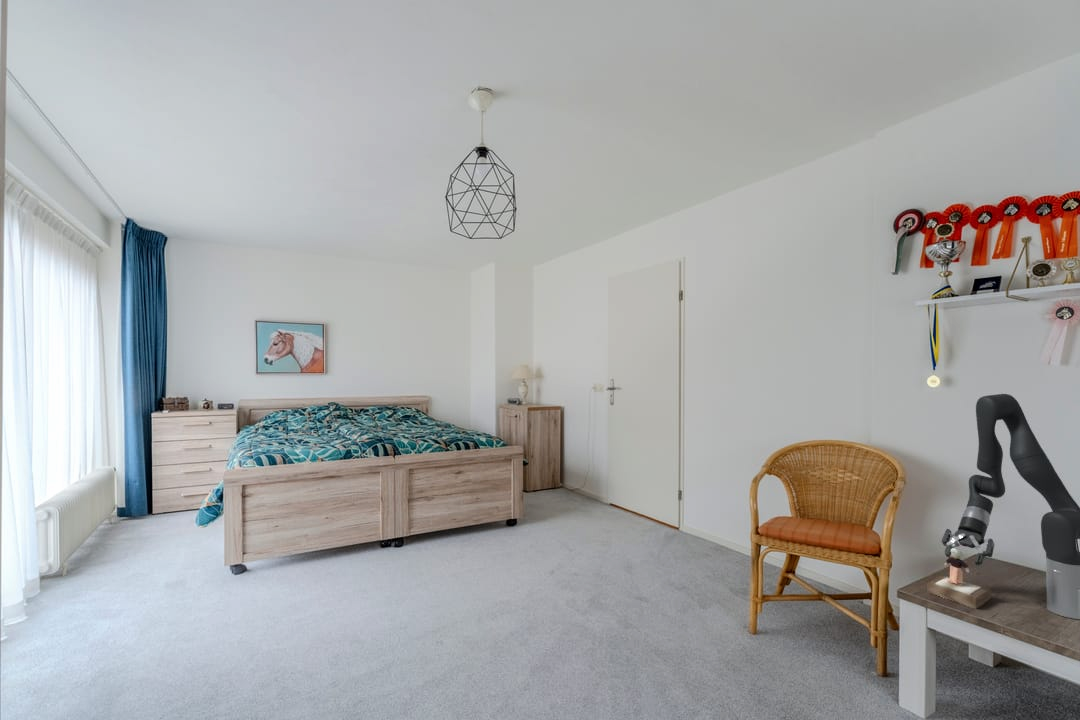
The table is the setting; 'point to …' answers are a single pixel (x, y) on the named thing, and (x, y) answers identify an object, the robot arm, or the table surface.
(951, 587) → the stand
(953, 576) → the grandmother figurine
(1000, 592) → the table surface
